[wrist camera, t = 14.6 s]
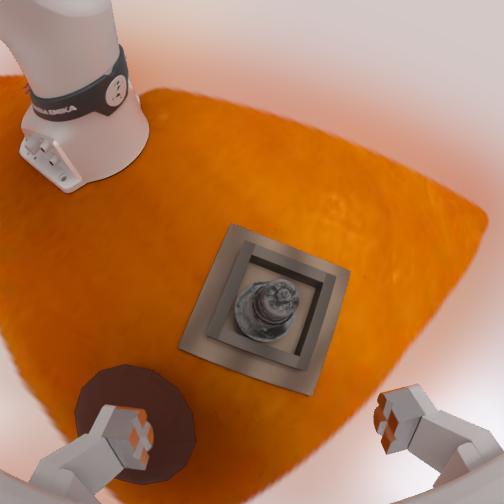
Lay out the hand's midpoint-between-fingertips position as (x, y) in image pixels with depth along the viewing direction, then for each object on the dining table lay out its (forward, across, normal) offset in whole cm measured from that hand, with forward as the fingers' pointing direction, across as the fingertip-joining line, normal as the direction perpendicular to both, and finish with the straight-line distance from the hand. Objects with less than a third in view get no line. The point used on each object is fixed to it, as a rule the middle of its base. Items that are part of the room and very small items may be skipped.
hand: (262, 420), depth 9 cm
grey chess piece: (+22, 0, +7) cm, 23 cm away
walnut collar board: (+23, -1, +7) cm, 24 cm away
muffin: (+15, +12, +16) cm, 25 cm away
